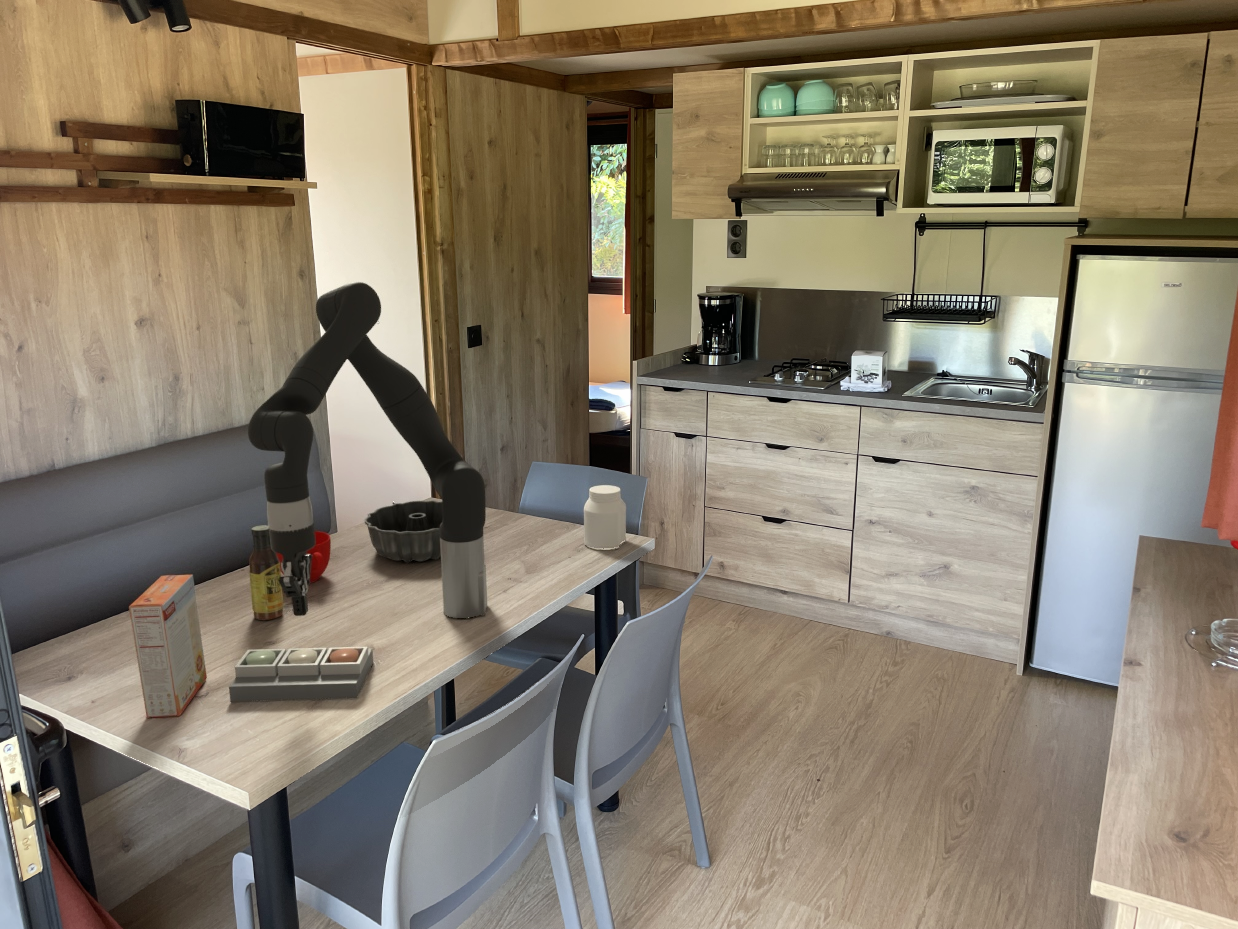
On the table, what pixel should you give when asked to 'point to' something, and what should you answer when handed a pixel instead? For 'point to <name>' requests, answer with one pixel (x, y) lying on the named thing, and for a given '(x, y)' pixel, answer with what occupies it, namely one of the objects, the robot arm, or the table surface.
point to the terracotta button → (344, 656)
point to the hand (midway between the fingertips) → (301, 613)
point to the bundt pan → (407, 530)
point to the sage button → (261, 658)
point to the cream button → (303, 657)
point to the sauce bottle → (265, 577)
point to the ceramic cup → (317, 555)
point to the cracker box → (168, 645)
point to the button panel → (300, 677)
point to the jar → (604, 517)
